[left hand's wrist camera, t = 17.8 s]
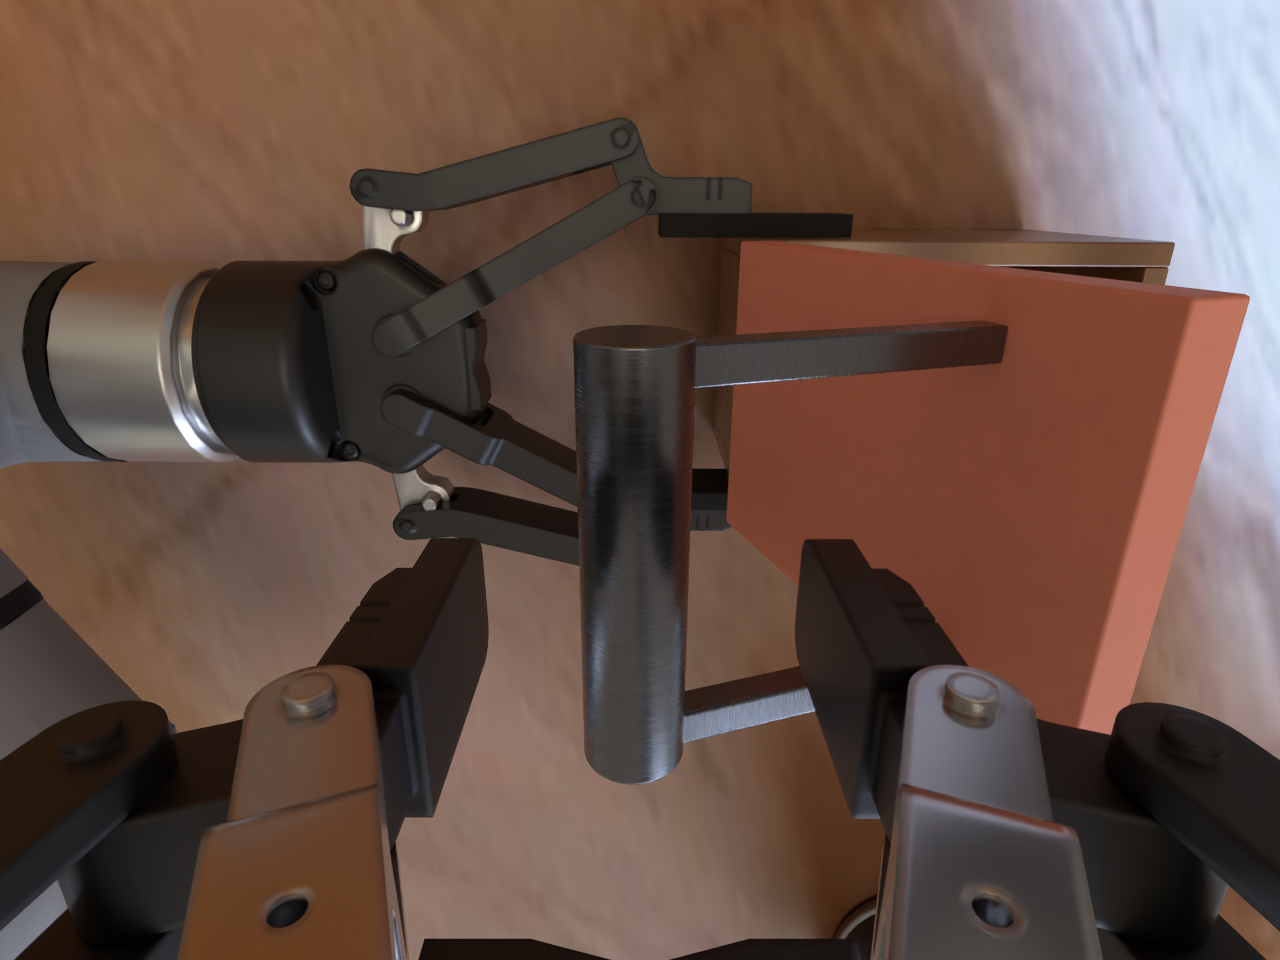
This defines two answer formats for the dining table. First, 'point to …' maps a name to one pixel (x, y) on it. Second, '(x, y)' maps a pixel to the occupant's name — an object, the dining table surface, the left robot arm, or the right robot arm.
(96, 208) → the dining table surface
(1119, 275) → the chest
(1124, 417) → the lid
